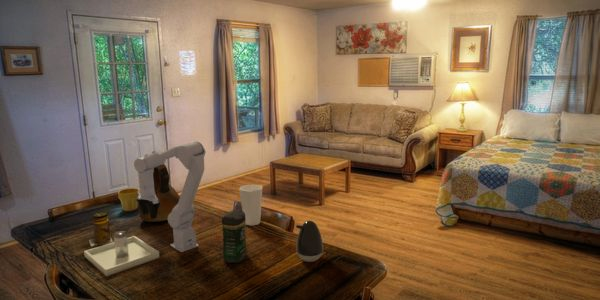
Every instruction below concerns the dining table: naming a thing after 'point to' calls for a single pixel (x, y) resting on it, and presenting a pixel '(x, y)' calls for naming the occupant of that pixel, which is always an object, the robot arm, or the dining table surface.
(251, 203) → the cup
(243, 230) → the green squeeze bottle
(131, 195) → the plant pot
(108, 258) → the tray
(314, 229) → the pump dispenser
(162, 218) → the ceramic pitcher
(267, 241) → the dining table surface
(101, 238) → the condiment
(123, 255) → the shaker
